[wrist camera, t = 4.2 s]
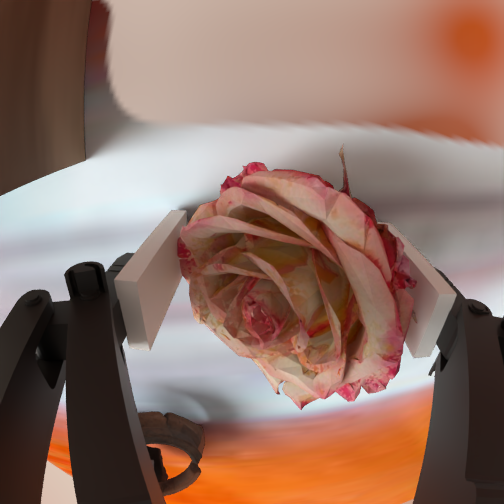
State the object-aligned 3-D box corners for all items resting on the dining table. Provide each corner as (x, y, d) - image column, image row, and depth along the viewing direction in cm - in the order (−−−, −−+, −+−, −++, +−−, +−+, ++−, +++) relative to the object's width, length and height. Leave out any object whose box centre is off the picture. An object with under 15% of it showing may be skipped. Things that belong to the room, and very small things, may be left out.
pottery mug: (76, 371, 21) (71, 436, 14) (183, 358, 25) (214, 416, 18) (110, 465, 23) (121, 526, 16) (196, 451, 27) (224, 507, 20)
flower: (407, 121, 11) (327, 118, 5) (445, 319, 12) (396, 456, 7) (241, 175, 17) (116, 216, 12) (289, 318, 19) (198, 398, 14)
